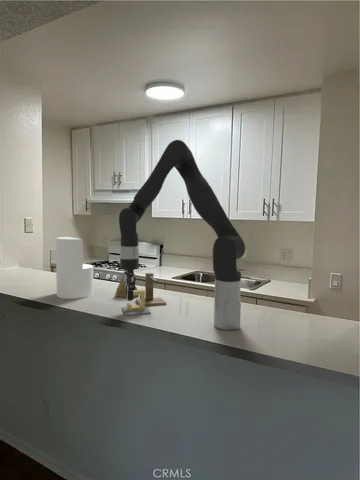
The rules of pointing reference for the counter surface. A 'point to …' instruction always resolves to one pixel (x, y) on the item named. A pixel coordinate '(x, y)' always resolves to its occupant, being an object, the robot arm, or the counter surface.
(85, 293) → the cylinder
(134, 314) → the slate mat
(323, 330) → the counter surface
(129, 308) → the c link
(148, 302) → the hook stand
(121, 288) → the rock
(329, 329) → the counter surface
